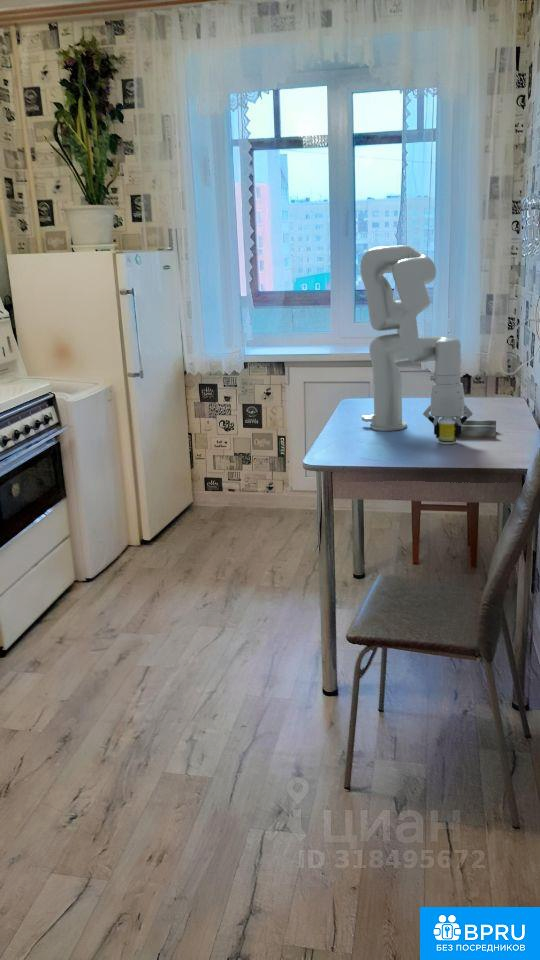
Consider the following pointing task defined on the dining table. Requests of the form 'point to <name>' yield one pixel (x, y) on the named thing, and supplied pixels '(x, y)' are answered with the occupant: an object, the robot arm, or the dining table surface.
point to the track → (478, 429)
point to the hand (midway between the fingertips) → (447, 436)
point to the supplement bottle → (447, 430)
